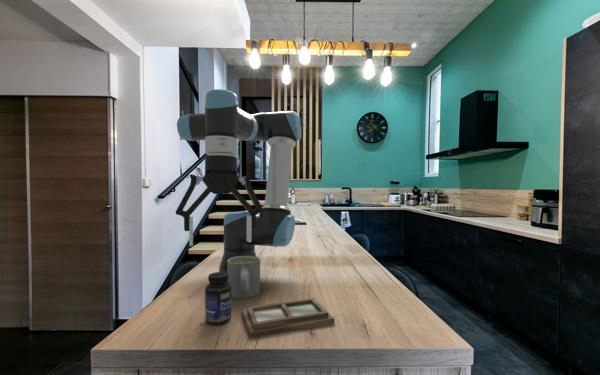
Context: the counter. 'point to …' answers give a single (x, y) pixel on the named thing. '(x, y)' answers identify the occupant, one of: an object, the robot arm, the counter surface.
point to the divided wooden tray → (285, 317)
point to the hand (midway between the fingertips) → (221, 243)
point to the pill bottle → (218, 299)
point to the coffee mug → (244, 276)
